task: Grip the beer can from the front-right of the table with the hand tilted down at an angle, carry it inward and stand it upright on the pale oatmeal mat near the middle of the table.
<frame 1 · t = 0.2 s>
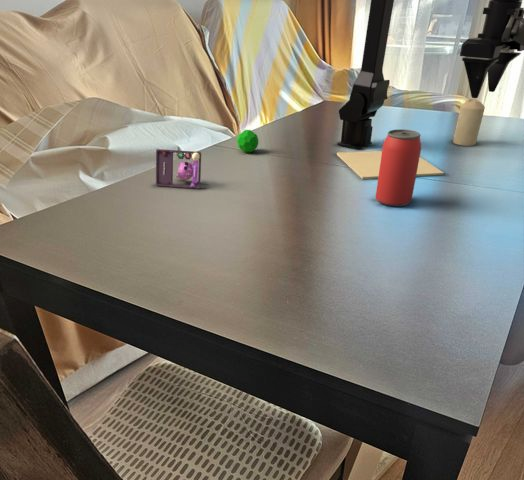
hand: (483, 94, 102), 15 cm above the table, tool pointing down, fingers open, 9 cm apart
polyhedron: (247, 152, 120), on the table
packaged toy box: (181, 184, 101), on the table
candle: (464, 144, 128), on the table
beer can: (392, 202, 94), on the table
centre mat: (387, 164, 113), on the table
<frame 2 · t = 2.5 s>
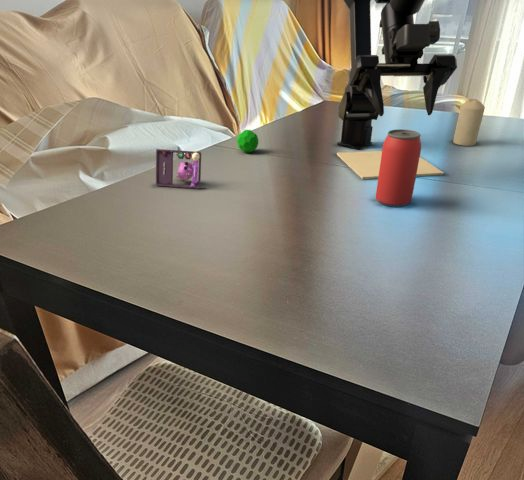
hand: (406, 114, 93), 13 cm above the table, tool tilted 40°, fingers open, 9 cm apart
nothing on the table moved.
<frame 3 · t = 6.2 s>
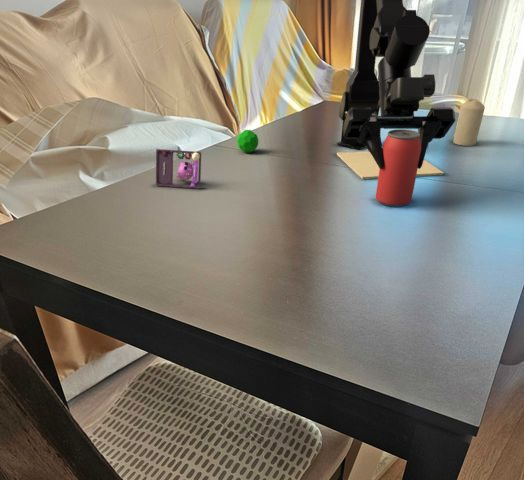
hand: (400, 167, 89), 7 cm above the table, tool tilted 45°, fingers closed on beer can, 6 cm apart
beer can: (392, 202, 94), on the table, touching gripper
everything else where it was.
when the fingers open (7 cm above the table, at t = 14.2 s): beer can stays where it is, resting on centre mat.
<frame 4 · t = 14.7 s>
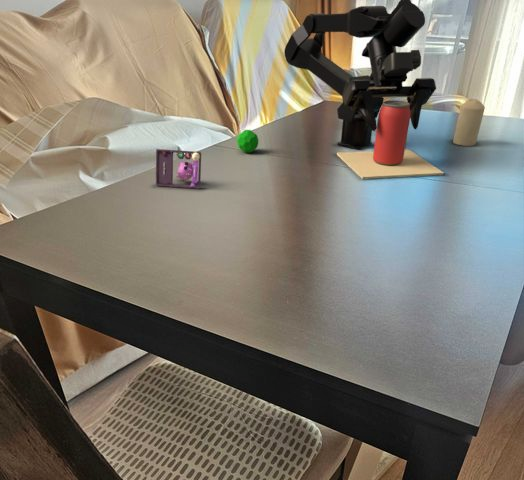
hand: (395, 129, 107), 8 cm above the table, tool tilted 45°, fingers open, 9 cm apart
beer can: (387, 162, 113), resting on centre mat
everything else where it was.
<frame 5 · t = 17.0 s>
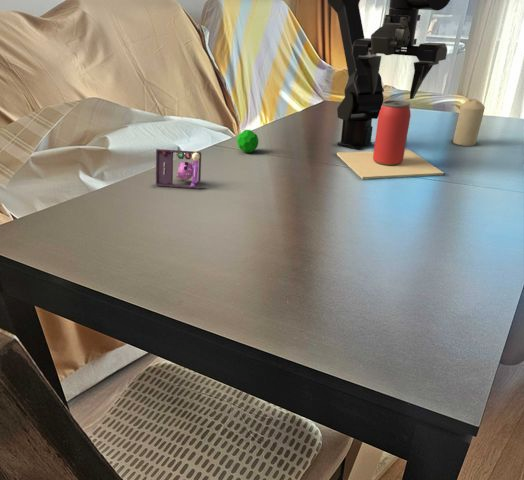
hand: (391, 96, 108), 13 cm above the table, tool pointing down, fingers open, 9 cm apart
nothing on the table moved.
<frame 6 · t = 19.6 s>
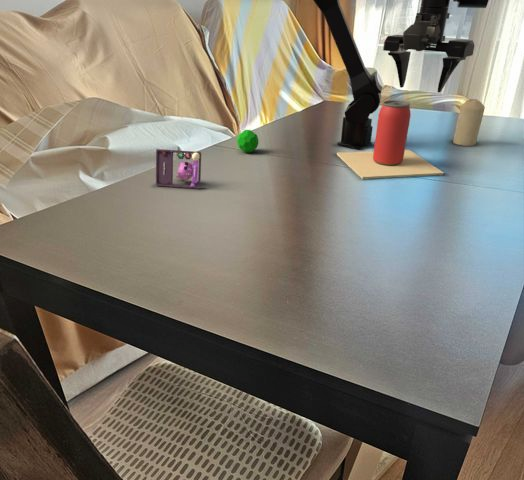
hand: (420, 89, 115), 13 cm above the table, tool pointing down, fingers open, 9 cm apart
nothing on the table moved.
at the end: beer can inside the target area on the centre mat (0.1 cm from its centre), point 0.3 cm above the centre mat's base; beer can tilted 0°; the gripper is holding nothing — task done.
